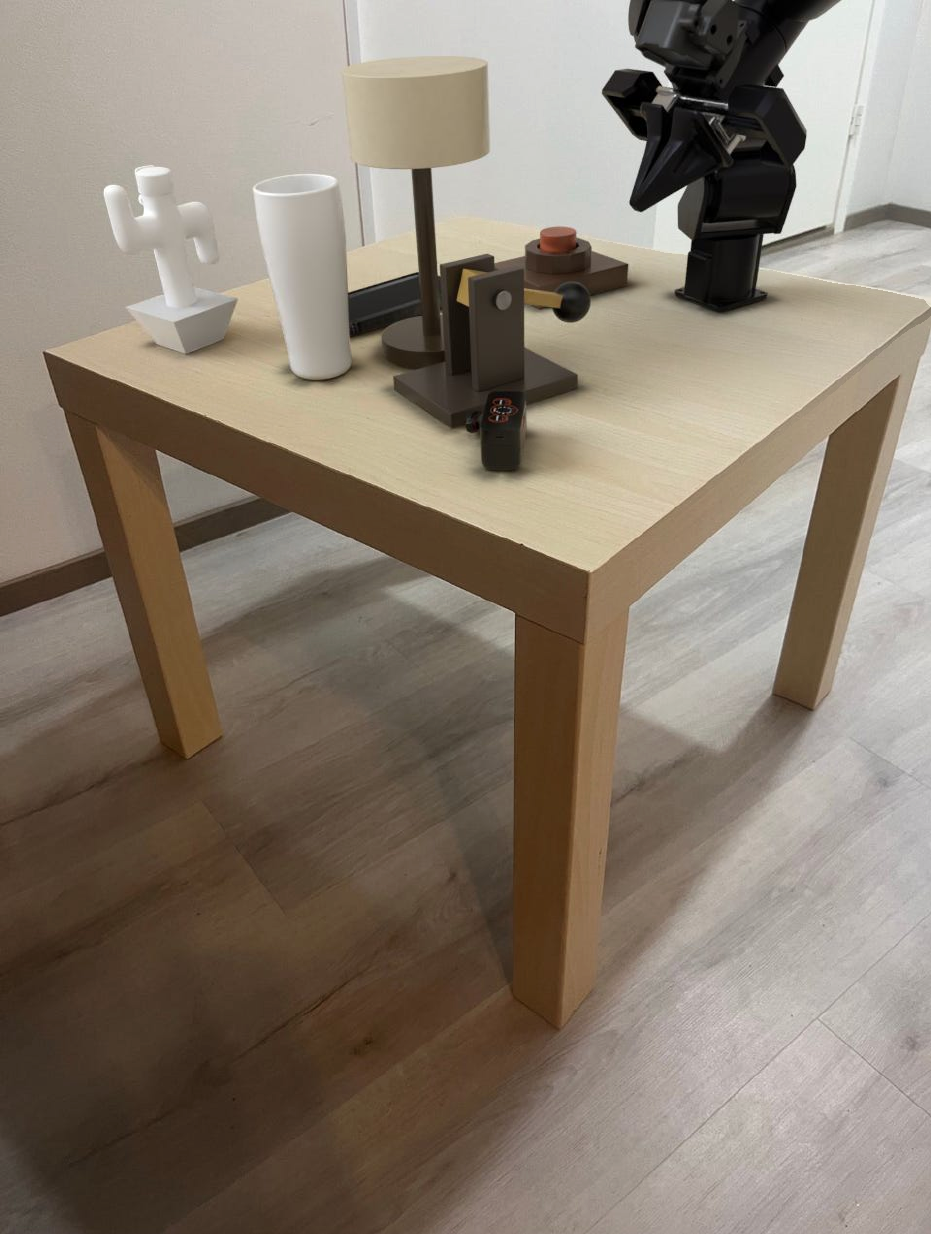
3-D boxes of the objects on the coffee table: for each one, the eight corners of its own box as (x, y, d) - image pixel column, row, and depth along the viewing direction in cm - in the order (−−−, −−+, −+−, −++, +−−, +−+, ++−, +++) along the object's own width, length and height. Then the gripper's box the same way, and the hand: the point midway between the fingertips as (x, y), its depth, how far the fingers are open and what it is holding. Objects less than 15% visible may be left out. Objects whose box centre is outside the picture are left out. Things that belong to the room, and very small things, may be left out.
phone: (301, 306, 90) (422, 270, 98) (303, 318, 91) (423, 281, 98) (347, 326, 85) (471, 286, 93) (349, 338, 86) (472, 297, 93)
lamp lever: (568, 318, 79) (578, 279, 78) (592, 329, 77) (603, 289, 75) (451, 304, 72) (460, 261, 71) (473, 315, 70) (483, 271, 69)
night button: (561, 242, 96) (561, 224, 94) (583, 250, 93) (583, 231, 92) (532, 249, 94) (532, 230, 93) (554, 257, 92) (554, 238, 91)
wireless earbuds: (528, 427, 70) (528, 386, 68) (520, 473, 64) (520, 430, 62) (466, 426, 71) (464, 386, 69) (453, 472, 65) (451, 429, 63)
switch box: (573, 265, 101) (574, 226, 99) (627, 285, 95) (629, 245, 92) (488, 286, 97) (487, 246, 94) (539, 309, 90) (539, 267, 88)
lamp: (453, 319, 89) (439, 52, 76) (519, 353, 82) (516, 64, 68) (350, 346, 85) (317, 68, 72) (410, 385, 77) (385, 82, 64)
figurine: (254, 334, 88) (223, 161, 79) (172, 366, 83) (128, 184, 74) (206, 319, 92) (171, 153, 83) (125, 349, 86) (77, 174, 77)
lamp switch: (514, 355, 82) (513, 238, 76) (577, 388, 75) (581, 264, 69) (394, 389, 77) (382, 268, 71) (451, 428, 70) (444, 299, 65)
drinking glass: (328, 392, 77) (301, 198, 68) (266, 377, 80) (232, 189, 71) (376, 363, 81) (357, 177, 72) (316, 350, 84) (290, 170, 75)
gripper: (626, -49, 74) (511, 125, 76) (805, -51, 61) (660, 158, 63) (692, 56, 82) (586, 210, 84) (864, 74, 69) (733, 256, 71)
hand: (634, 208), depth 75 cm, fingers closed
